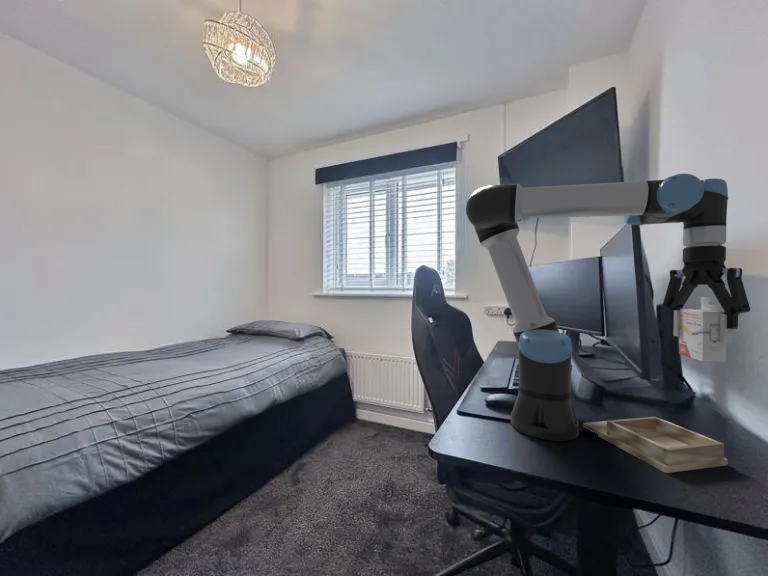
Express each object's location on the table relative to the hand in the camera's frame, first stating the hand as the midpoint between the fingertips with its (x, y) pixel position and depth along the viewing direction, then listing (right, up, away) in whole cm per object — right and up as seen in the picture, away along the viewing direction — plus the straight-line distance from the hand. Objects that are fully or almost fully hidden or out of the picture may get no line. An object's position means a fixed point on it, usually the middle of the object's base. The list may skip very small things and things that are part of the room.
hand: (701, 339), depth 80 cm
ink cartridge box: (0, -5, 0) cm, 5 cm away
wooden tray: (-18, -22, -6) cm, 30 cm away
